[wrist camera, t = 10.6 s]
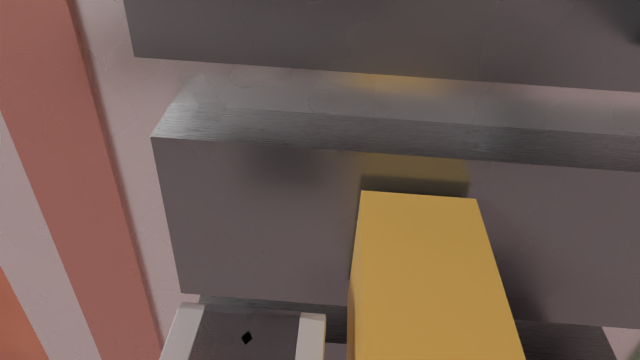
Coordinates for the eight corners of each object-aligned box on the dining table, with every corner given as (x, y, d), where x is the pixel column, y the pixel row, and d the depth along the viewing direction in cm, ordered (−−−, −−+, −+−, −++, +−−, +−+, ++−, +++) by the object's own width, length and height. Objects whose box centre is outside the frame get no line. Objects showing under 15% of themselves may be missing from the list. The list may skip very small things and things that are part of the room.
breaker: (361, 190, 10) (364, 435, 6) (476, 198, 10) (553, 451, 6) (347, 296, 13) (343, 529, 9) (442, 303, 13) (484, 541, 9)
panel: (-236, -347, 8) (-475, -411, 6) (1321, -260, 8) (1741, -291, 5) (72, 337, 21) (35, 406, 18) (688, 387, 20) (733, 465, 18)
